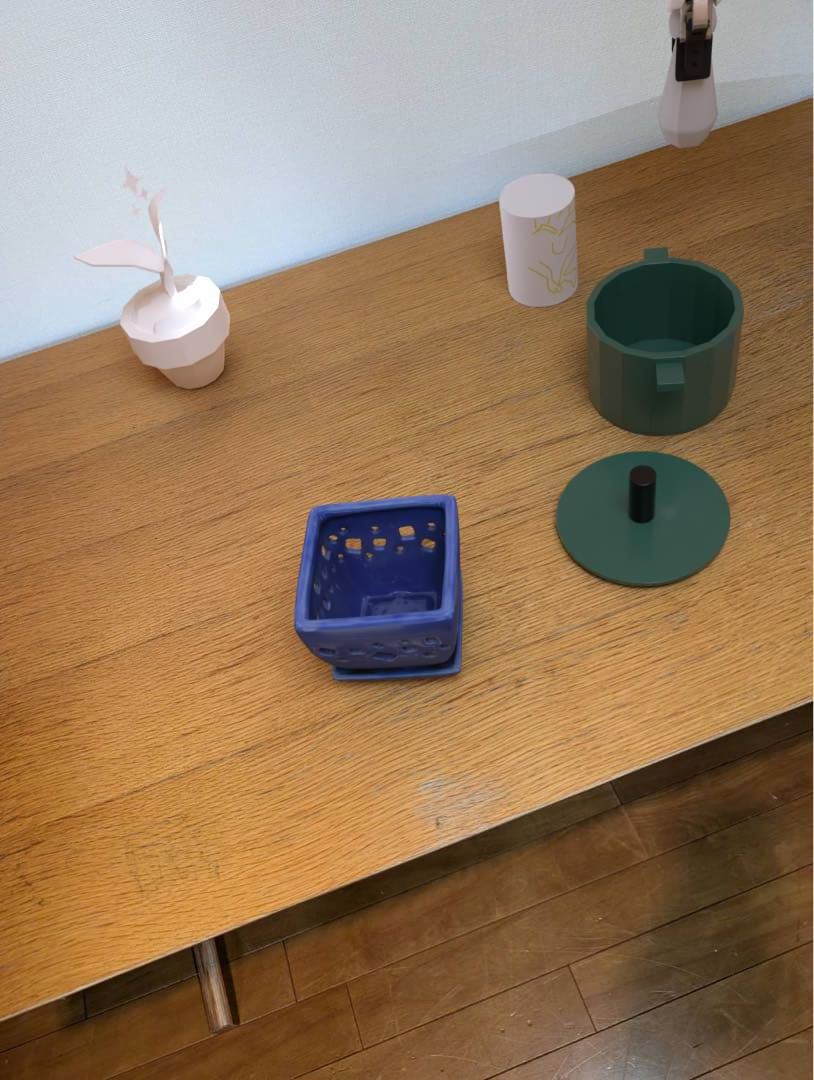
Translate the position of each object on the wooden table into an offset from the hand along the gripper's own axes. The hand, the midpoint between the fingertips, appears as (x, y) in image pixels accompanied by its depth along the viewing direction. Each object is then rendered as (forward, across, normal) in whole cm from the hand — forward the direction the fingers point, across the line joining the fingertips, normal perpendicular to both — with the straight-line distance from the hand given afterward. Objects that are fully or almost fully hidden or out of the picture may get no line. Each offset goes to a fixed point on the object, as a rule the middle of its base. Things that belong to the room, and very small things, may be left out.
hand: (690, 63), depth 95 cm
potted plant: (+24, +13, -56) cm, 63 cm away
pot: (+24, +19, -3) cm, 31 cm away
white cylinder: (+24, +1, -16) cm, 29 cm away
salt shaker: (+8, 0, 0) cm, 8 cm away
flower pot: (+24, +49, -28) cm, 62 cm away
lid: (+24, +37, -6) cm, 44 cm away
